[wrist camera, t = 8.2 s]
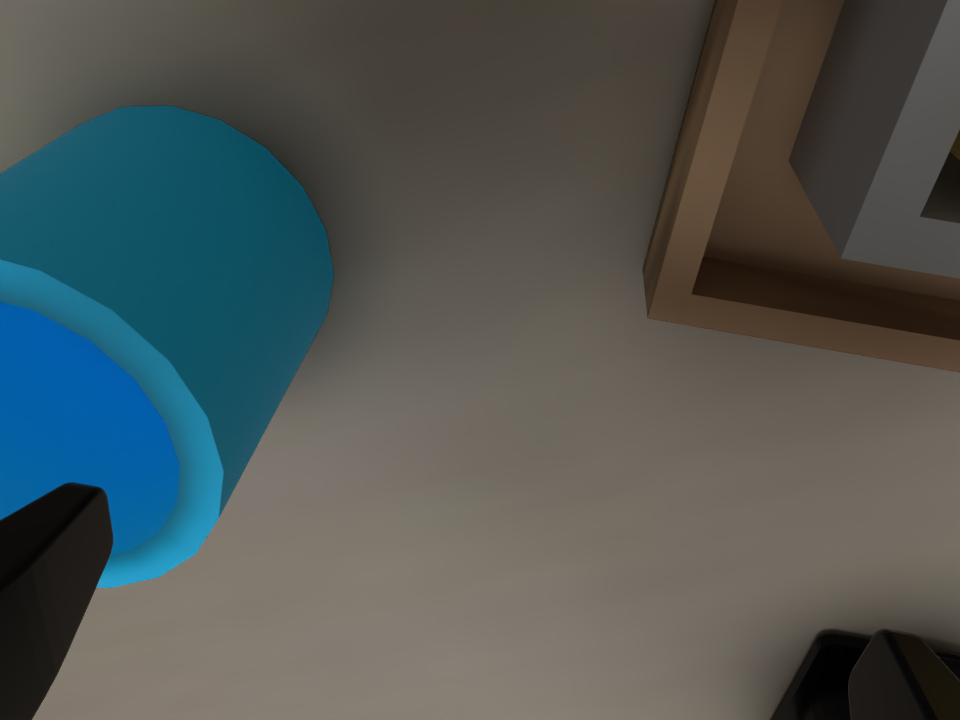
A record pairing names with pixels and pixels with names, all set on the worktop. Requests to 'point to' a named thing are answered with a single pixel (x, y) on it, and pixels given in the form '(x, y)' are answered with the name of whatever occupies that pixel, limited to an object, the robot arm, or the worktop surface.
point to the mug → (150, 321)
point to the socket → (887, 135)
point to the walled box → (776, 209)
